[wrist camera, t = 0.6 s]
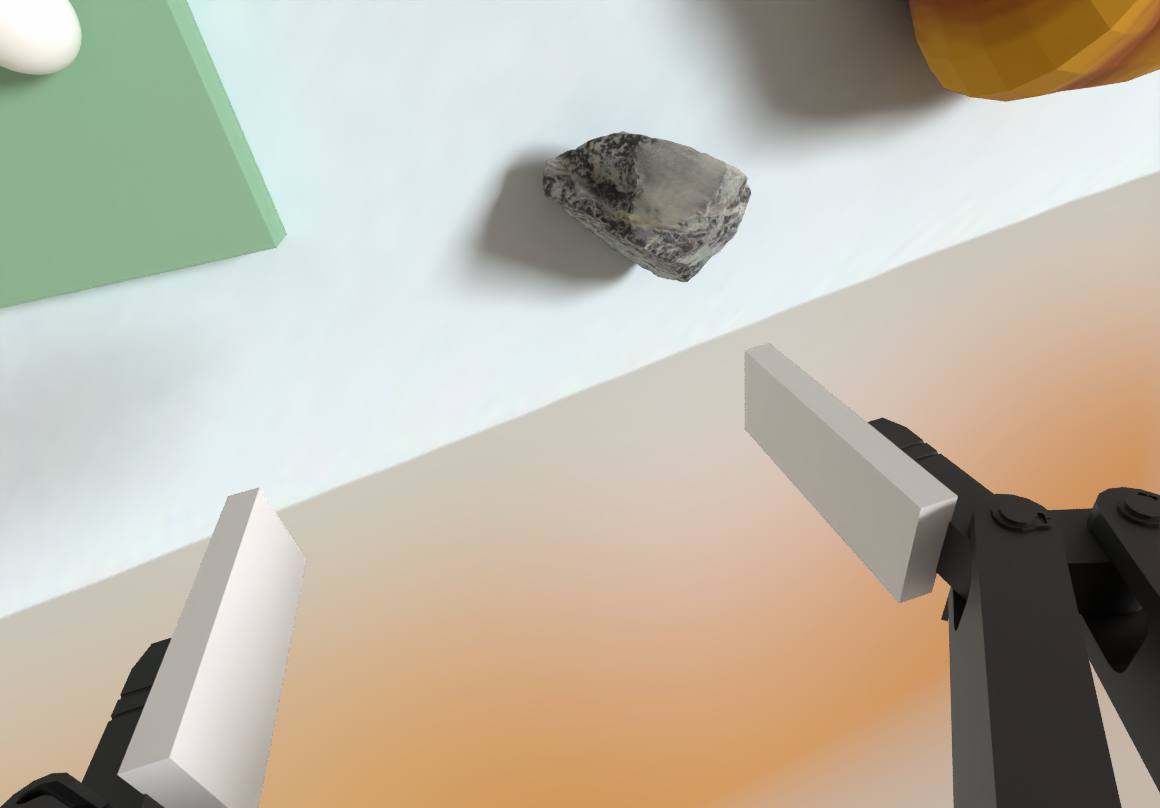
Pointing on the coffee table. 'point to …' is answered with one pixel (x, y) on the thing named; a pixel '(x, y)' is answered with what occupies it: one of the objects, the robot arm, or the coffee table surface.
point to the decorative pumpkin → (1036, 44)
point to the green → (124, 159)
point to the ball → (38, 35)
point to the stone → (651, 200)
